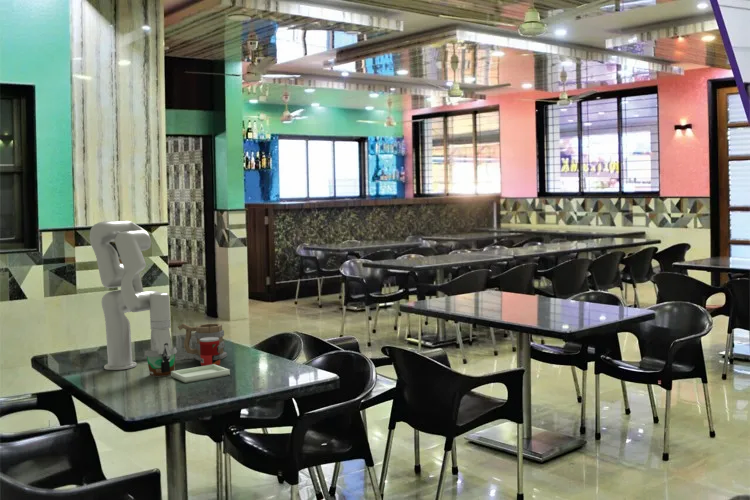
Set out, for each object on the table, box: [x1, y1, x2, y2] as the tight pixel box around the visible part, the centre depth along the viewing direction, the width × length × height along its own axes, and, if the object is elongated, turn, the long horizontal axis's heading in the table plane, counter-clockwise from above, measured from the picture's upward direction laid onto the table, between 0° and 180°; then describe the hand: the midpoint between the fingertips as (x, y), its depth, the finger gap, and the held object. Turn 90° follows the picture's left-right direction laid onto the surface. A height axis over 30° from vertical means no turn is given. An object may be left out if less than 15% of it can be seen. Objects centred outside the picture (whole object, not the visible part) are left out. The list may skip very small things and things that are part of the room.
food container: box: [144, 347, 178, 377], centre depth 302 cm, size 12×6×10 cm, turn 118°
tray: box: [170, 364, 231, 383], centre depth 299 cm, size 14×18×2 cm
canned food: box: [200, 337, 221, 366], centre depth 317 cm, size 8×8×11 cm
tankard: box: [177, 323, 228, 362], centre depth 333 cm, size 20×13×15 cm, turn 80°
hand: (162, 370), depth 303 cm, fingers closed on food container, 5 cm apart
